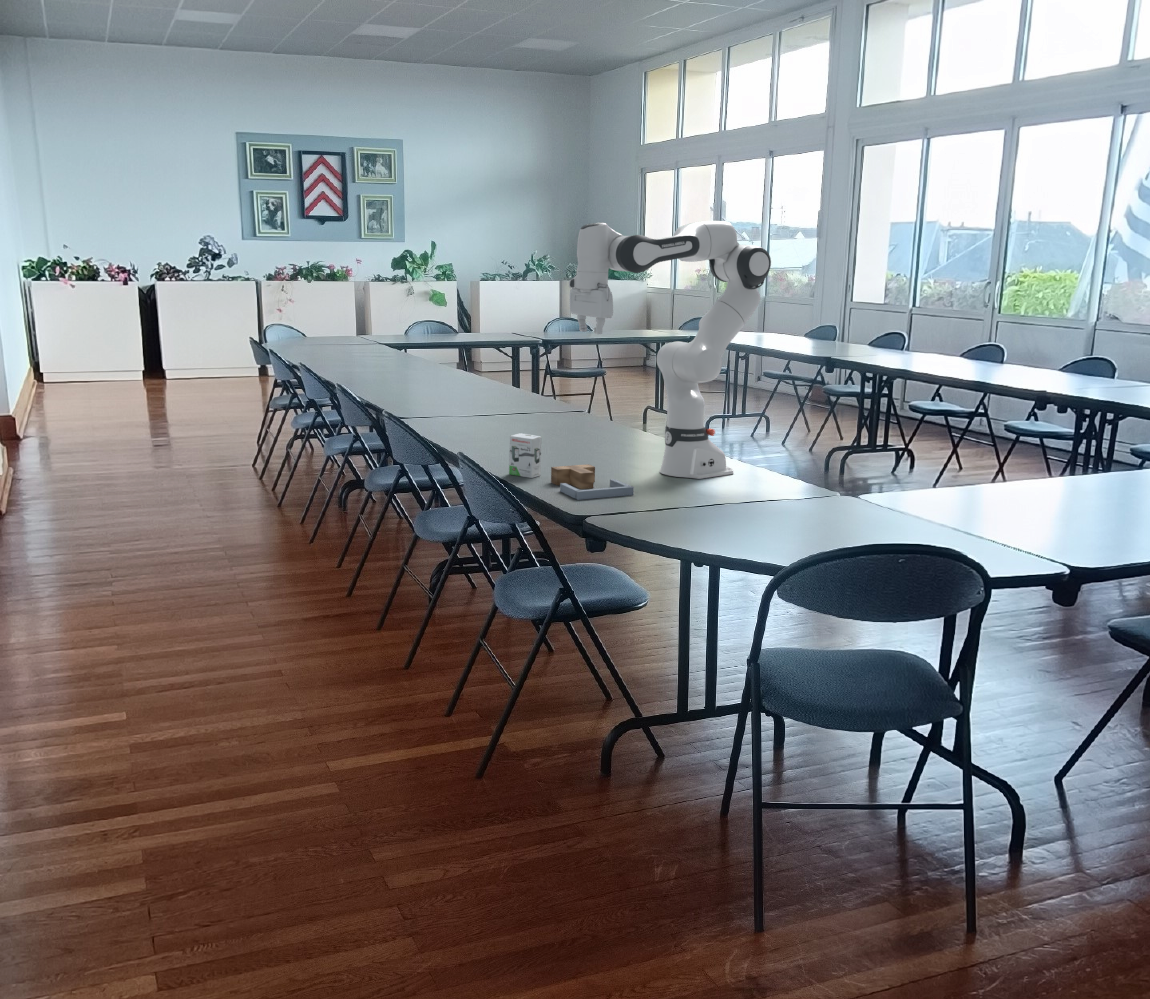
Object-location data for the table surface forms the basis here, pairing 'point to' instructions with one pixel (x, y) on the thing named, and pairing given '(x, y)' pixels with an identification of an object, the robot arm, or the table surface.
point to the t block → (574, 475)
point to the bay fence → (598, 491)
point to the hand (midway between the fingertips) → (590, 332)
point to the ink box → (525, 455)
